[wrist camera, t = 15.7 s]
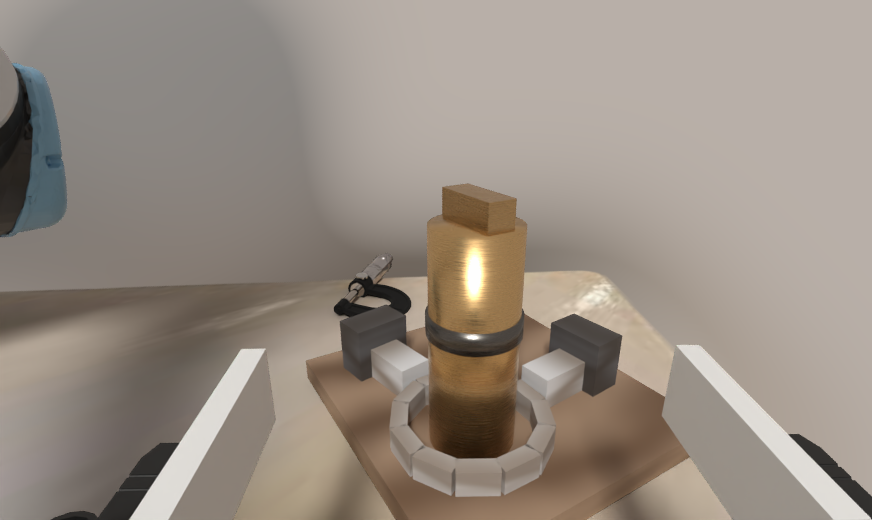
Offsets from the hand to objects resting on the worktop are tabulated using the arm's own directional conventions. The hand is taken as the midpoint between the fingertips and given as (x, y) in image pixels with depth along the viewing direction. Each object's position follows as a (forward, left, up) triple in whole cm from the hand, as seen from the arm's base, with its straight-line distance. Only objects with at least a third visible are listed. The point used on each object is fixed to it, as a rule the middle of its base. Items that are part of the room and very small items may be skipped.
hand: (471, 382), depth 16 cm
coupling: (-8, +6, -11) cm, 15 cm away
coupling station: (-12, +10, -12) cm, 19 cm away
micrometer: (-33, +12, -13) cm, 38 cm away
